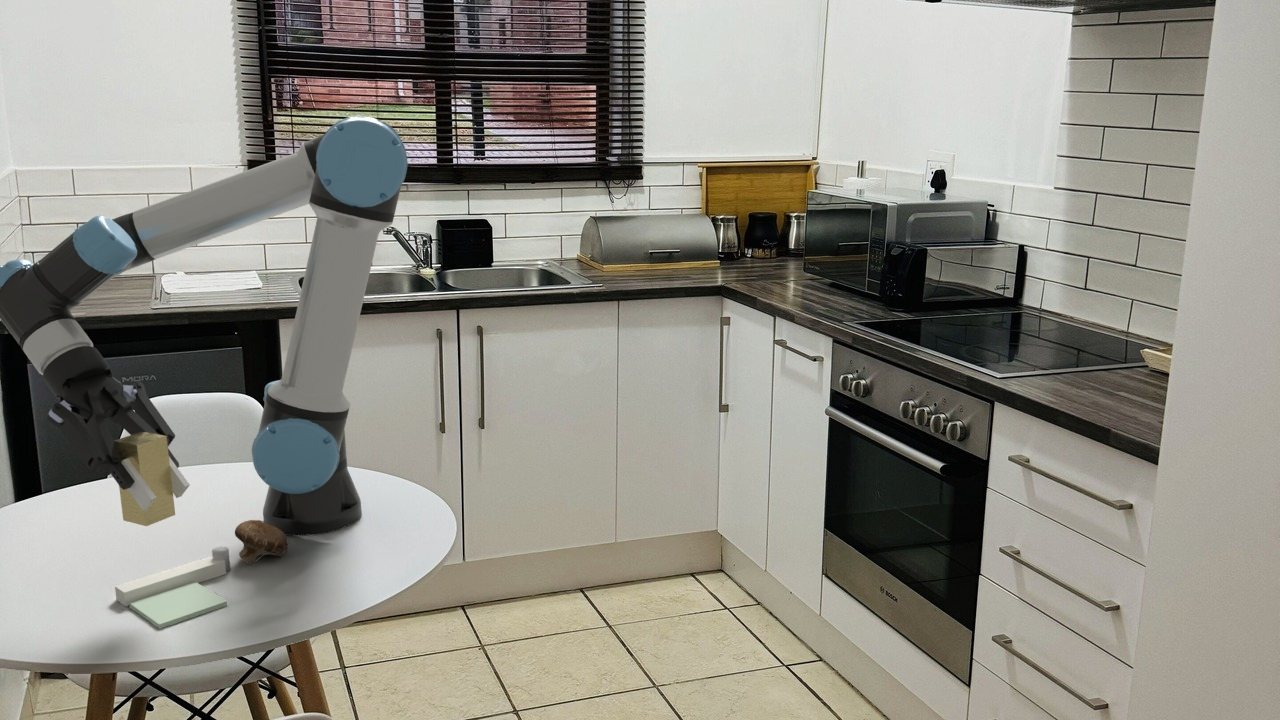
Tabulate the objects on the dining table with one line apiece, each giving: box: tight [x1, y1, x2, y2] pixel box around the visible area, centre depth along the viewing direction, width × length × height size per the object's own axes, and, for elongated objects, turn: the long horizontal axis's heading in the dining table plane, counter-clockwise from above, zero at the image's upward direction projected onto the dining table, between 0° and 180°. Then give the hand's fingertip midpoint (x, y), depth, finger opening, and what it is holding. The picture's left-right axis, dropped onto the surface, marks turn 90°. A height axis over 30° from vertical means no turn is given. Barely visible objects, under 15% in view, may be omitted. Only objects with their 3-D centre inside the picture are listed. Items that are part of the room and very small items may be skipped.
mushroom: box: [234, 519, 289, 565], centre depth 160 cm, size 8×8×6 cm
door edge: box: [114, 546, 231, 607], centre depth 151 cm, size 15×3×3 cm, turn 137°
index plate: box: [129, 582, 228, 629], centre depth 145 cm, size 9×9×1 cm
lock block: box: [113, 432, 176, 527], centre depth 144 cm, size 4×4×11 cm
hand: (166, 497), depth 143 cm, fingers closed on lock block, 4 cm apart
